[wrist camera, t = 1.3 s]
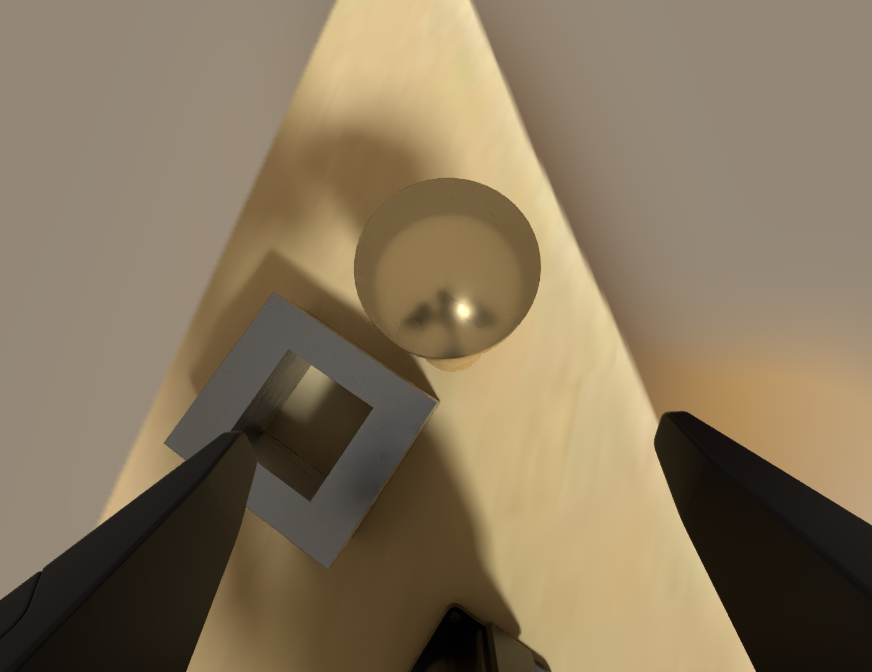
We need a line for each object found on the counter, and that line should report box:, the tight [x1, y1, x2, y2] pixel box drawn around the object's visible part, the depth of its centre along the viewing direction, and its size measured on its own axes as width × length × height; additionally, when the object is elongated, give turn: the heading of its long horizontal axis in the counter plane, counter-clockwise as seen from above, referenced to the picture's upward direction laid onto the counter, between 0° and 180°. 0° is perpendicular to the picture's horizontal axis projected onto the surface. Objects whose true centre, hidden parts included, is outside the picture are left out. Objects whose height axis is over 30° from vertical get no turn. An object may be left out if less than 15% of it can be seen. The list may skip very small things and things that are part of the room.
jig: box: [164, 292, 440, 570], centre depth 21 cm, size 9×10×4 cm
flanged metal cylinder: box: [354, 178, 541, 371], centre depth 17 cm, size 5×5×13 cm
